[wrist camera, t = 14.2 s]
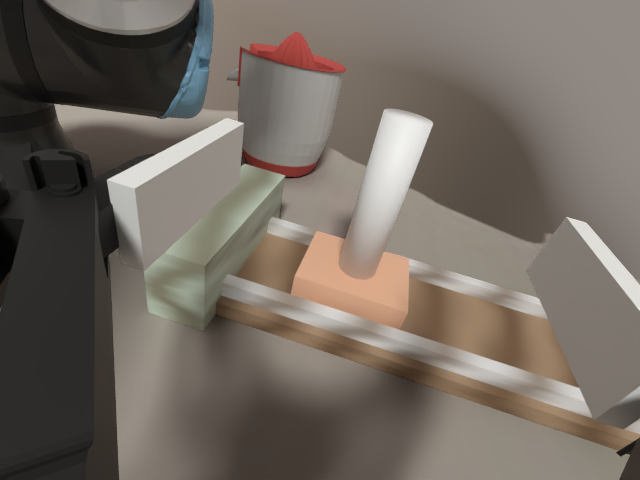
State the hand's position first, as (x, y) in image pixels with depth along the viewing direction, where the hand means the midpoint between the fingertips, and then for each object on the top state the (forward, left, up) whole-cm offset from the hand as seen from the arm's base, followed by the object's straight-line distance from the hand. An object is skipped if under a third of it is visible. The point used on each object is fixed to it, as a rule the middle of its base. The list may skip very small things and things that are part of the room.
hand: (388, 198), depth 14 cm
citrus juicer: (-42, +13, -18) cm, 48 cm away
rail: (-5, +15, -18) cm, 23 cm away
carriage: (-10, +9, -16) cm, 20 cm away
